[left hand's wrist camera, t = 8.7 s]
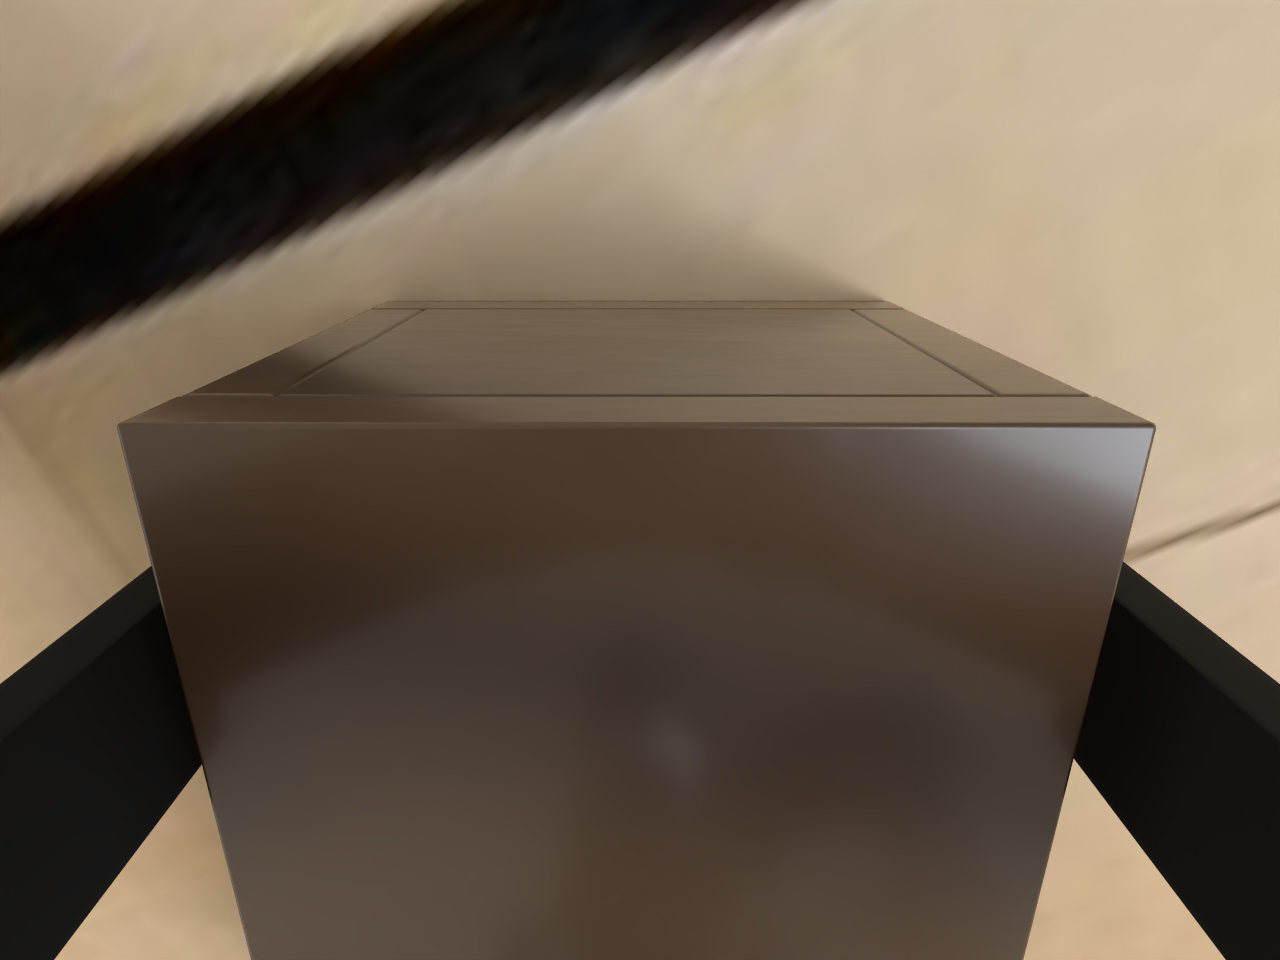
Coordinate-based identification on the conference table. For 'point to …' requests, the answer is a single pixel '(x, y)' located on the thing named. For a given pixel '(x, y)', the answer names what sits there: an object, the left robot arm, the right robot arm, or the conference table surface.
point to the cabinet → (637, 628)
